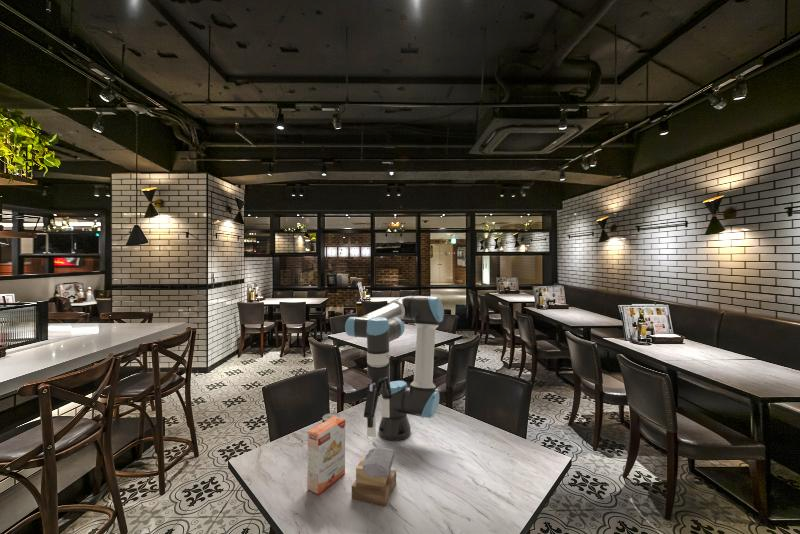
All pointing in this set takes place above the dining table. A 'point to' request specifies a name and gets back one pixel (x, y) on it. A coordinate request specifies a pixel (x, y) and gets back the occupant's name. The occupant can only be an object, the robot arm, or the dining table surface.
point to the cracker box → (326, 454)
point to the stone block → (378, 462)
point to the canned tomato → (329, 416)
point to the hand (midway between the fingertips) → (378, 425)
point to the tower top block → (367, 479)
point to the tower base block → (374, 491)
